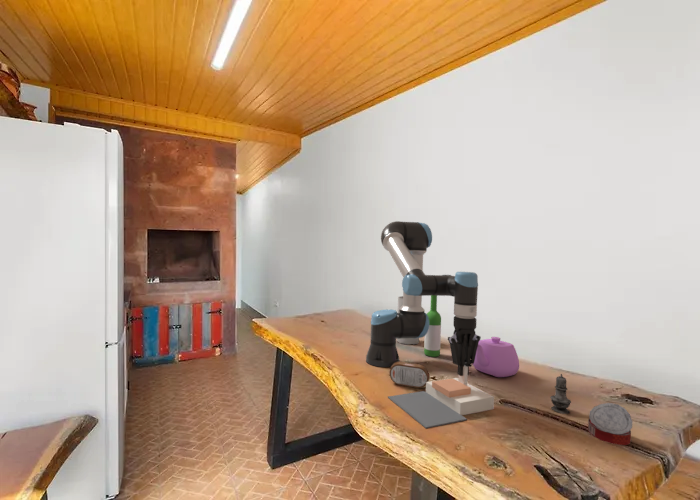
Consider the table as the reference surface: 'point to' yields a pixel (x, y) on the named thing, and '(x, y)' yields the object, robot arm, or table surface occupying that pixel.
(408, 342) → the cylinder vase
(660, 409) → the table surface
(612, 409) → the canned food
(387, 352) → the robot arm
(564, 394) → the dark grey turned piece
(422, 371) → the tin
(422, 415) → the mat
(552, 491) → the table surface
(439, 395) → the plate
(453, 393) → the tile
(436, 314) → the wine bottle
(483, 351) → the teapot
